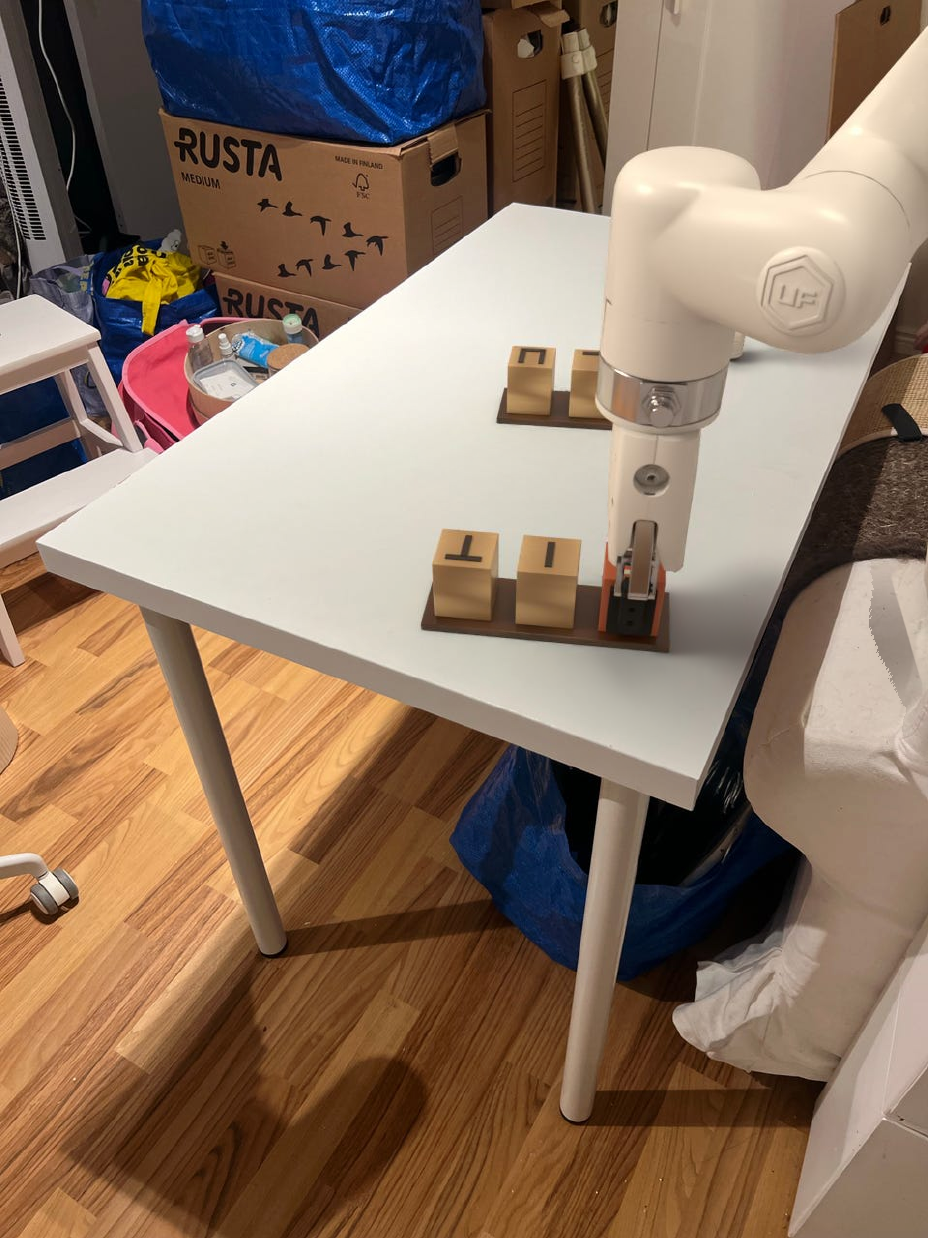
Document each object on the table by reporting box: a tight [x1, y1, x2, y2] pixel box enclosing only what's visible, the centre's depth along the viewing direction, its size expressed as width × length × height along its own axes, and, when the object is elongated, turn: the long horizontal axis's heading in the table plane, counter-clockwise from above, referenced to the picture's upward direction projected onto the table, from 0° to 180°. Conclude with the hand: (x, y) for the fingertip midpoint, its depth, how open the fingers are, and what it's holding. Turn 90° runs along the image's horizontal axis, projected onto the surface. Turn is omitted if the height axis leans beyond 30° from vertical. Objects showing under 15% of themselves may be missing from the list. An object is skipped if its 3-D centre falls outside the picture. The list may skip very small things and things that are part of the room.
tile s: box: [598, 541, 667, 636], centre depth 65 cm, size 4×4×5 cm
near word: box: [420, 528, 671, 653], centre depth 66 cm, size 18×6×6 cm, turn 81°
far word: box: [496, 345, 613, 431], centre depth 88 cm, size 18×6×6 cm, turn 81°
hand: (629, 607), depth 67 cm, fingers closed on tile s, 4 cm apart
